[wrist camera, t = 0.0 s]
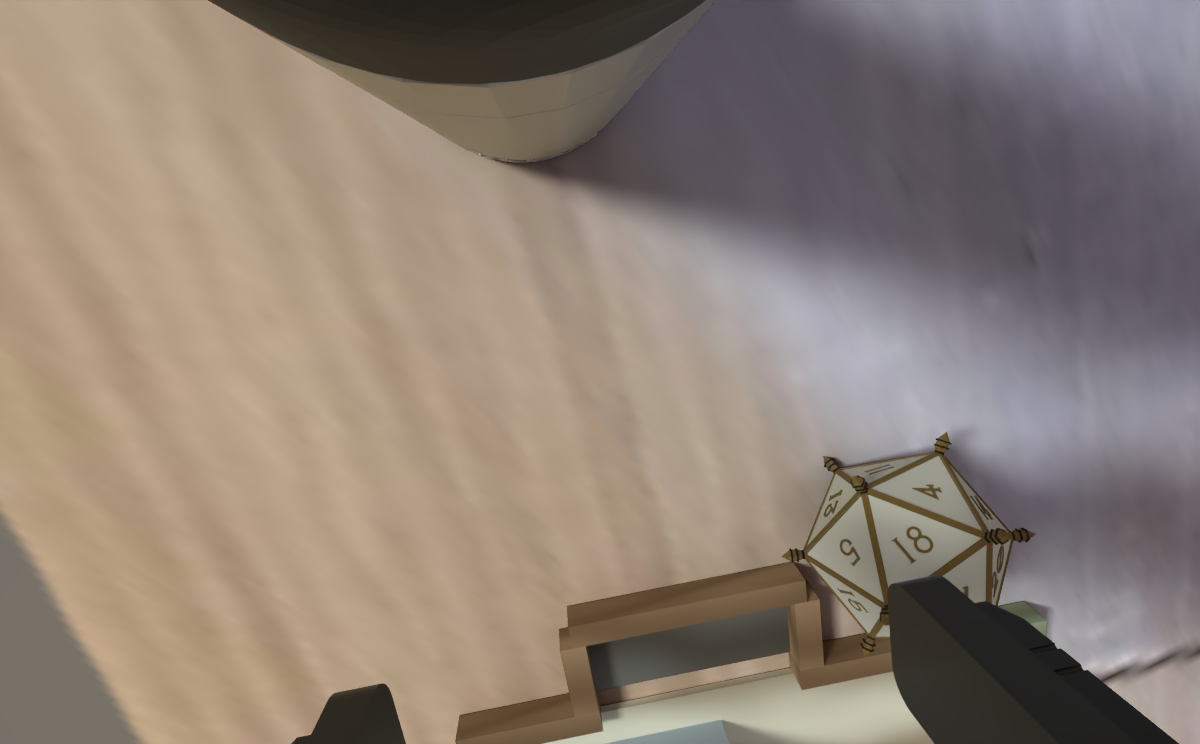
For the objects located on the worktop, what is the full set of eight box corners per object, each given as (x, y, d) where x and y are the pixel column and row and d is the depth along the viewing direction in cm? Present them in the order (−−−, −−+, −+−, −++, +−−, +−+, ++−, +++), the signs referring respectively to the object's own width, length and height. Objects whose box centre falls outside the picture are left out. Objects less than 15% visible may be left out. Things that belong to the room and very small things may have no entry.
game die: (825, 431, 32) (986, 367, 23) (934, 560, 31) (1147, 547, 22) (714, 544, 28) (855, 521, 19) (836, 694, 27) (1043, 743, 18)
